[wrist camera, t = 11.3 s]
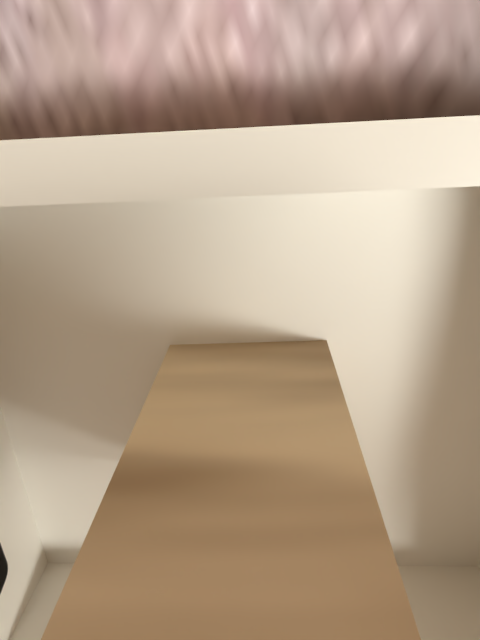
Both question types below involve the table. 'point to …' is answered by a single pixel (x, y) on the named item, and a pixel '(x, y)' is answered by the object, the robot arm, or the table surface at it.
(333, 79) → the table surface
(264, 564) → the strut
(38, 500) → the rectangular frame
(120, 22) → the table surface
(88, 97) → the table surface
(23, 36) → the table surface
